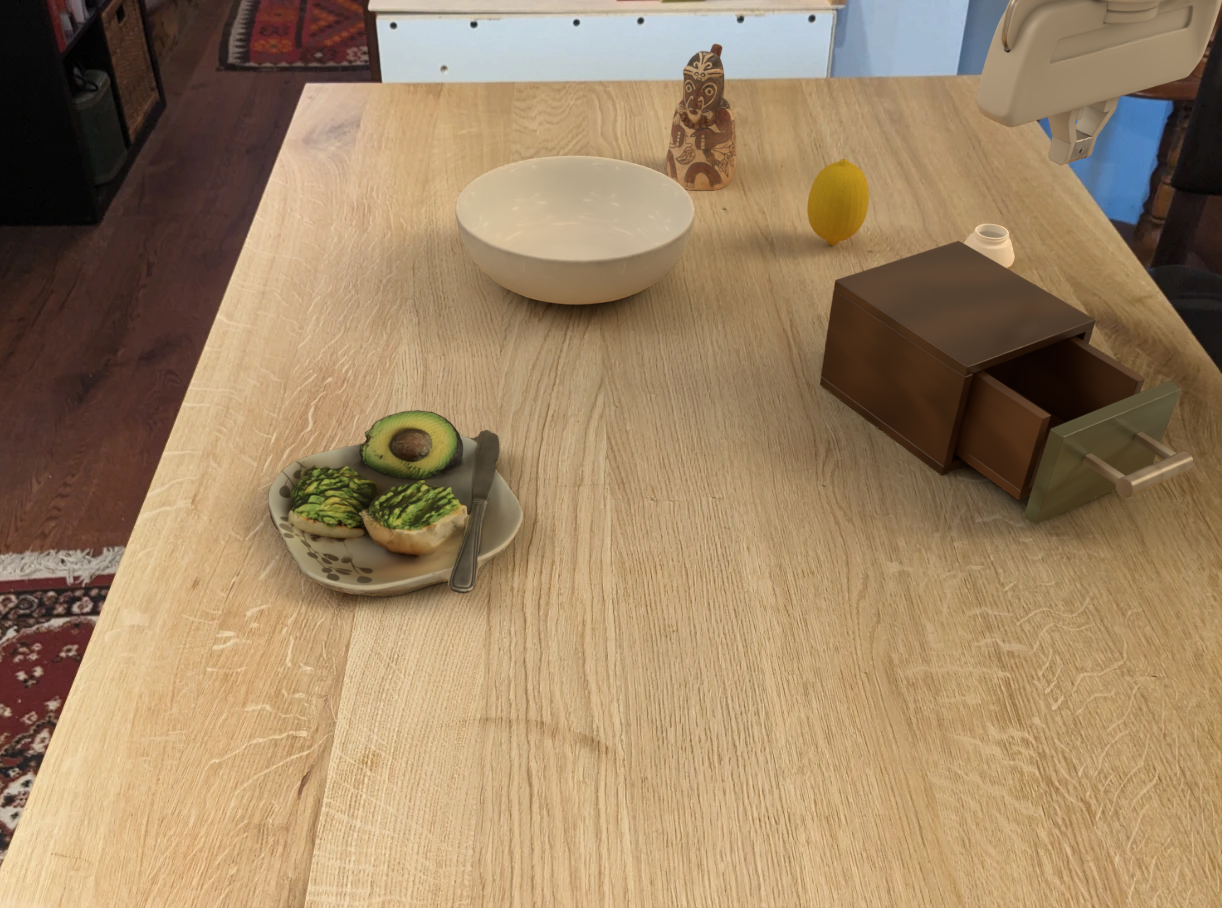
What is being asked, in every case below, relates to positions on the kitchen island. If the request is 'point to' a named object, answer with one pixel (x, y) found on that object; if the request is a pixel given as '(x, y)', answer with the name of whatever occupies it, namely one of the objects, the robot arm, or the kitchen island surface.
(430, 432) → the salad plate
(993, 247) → the white jar
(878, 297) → the cabinet
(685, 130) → the figurine
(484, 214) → the serving bowl
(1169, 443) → the kitchen island surface
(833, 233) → the lemon
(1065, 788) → the kitchen island surface
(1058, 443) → the drawer
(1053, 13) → the robot arm
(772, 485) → the kitchen island surface
